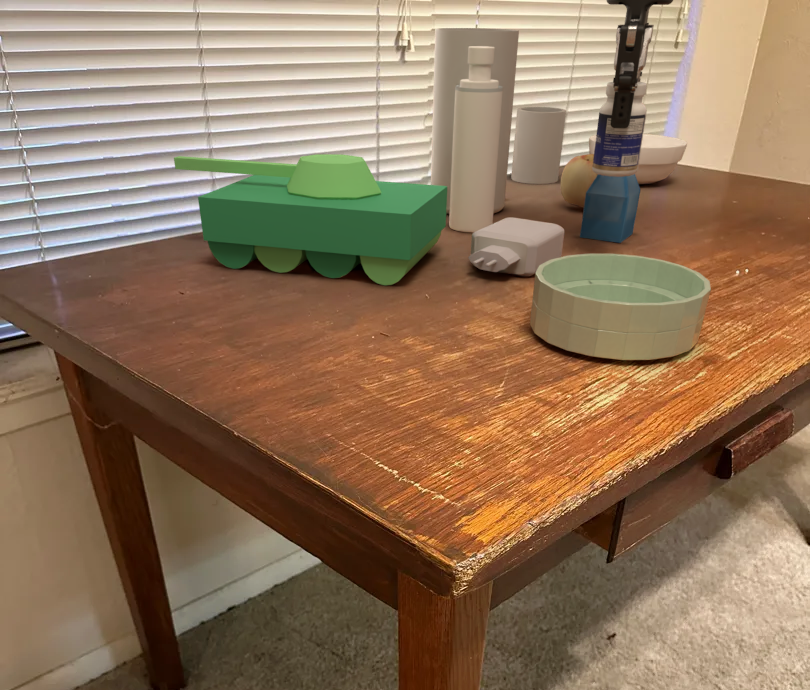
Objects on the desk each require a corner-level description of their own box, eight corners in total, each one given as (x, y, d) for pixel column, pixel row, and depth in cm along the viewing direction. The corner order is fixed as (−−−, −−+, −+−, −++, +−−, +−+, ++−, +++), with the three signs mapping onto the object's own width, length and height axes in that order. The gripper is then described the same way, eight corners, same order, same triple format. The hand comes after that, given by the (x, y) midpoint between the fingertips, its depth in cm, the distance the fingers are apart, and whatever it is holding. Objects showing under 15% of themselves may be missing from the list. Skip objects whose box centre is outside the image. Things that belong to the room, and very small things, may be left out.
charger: (446, 278, 95) (499, 251, 106) (512, 291, 91) (560, 262, 102) (448, 239, 92) (502, 215, 103) (516, 250, 89) (565, 225, 99)
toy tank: (206, 139, 106) (448, 154, 98) (217, 231, 113) (444, 252, 105) (135, 159, 92) (411, 178, 84) (153, 262, 99) (409, 289, 91)
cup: (521, 184, 144) (528, 113, 137) (504, 175, 151) (510, 107, 144) (565, 183, 146) (574, 112, 139) (546, 174, 153) (554, 106, 146)
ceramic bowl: (716, 327, 82) (730, 271, 79) (665, 380, 70) (679, 317, 67) (569, 297, 90) (576, 245, 86) (501, 340, 78) (507, 282, 75)
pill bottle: (594, 168, 100) (606, 80, 94) (639, 170, 98) (653, 81, 92) (588, 175, 95) (600, 83, 89) (634, 178, 94) (649, 85, 88)
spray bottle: (451, 221, 120) (460, 31, 105) (493, 223, 119) (508, 32, 104) (446, 231, 114) (455, 33, 100) (490, 233, 114) (505, 34, 99)
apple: (583, 200, 133) (591, 150, 129) (621, 210, 127) (630, 158, 123) (546, 206, 129) (552, 154, 125) (583, 216, 123) (591, 162, 119)
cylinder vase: (432, 199, 133) (437, 27, 118) (503, 201, 132) (517, 29, 117) (427, 215, 123) (432, 30, 108) (504, 218, 122) (520, 31, 107)
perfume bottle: (620, 243, 110) (636, 151, 103) (579, 237, 113) (592, 147, 106) (632, 234, 115) (648, 145, 108) (593, 228, 117) (606, 142, 110)
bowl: (627, 169, 158) (633, 130, 154) (698, 184, 146) (708, 142, 142) (564, 177, 150) (569, 137, 146) (634, 194, 138) (642, 150, 134)
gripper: (681, -52, 77) (650, 133, 87) (682, -45, 88) (654, 118, 98) (606, -51, 79) (584, 131, 89) (616, -44, 90) (595, 116, 100)
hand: (621, 123), depth 93 cm, fingers closed on pill bottle, 5 cm apart
